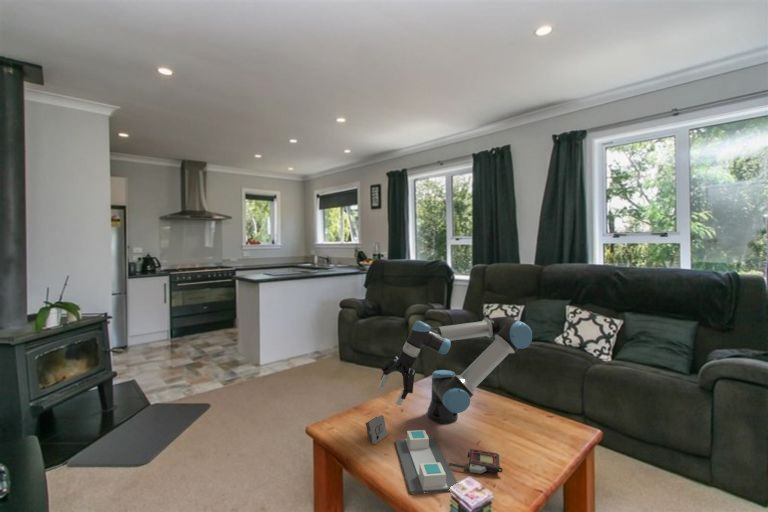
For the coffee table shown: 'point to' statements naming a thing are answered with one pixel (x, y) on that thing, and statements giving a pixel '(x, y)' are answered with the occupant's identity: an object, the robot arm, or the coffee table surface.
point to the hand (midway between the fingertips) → (388, 395)
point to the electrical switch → (376, 429)
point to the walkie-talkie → (481, 462)
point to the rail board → (412, 470)
